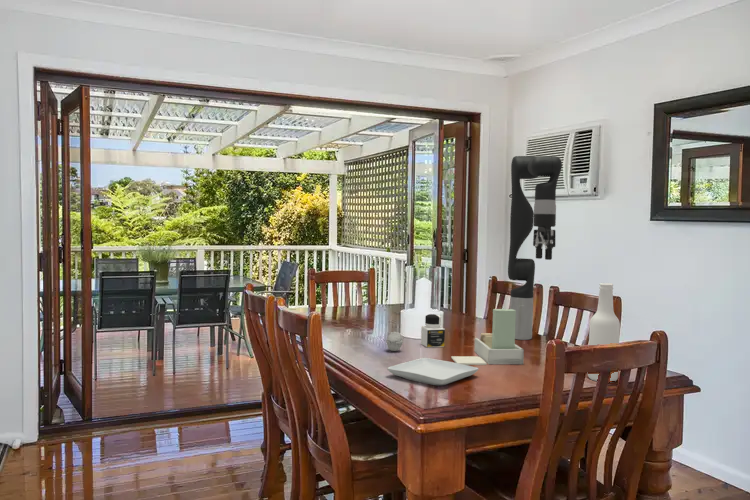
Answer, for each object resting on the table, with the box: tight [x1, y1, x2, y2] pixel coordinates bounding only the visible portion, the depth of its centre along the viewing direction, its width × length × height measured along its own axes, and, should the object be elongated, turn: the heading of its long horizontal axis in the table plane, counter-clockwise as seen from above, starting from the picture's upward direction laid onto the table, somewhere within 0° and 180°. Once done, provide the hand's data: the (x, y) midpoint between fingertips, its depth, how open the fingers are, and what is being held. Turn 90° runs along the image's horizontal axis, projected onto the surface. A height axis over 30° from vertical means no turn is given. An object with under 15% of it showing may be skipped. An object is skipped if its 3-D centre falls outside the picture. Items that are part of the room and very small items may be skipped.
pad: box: [450, 355, 488, 366], centre depth 209 cm, size 10×10×1 cm
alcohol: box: [587, 282, 621, 382], centre depth 188 cm, size 9×9×30 cm
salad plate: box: [386, 357, 480, 387], centre depth 188 cm, size 21×21×3 cm
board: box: [491, 308, 516, 349], centre depth 209 cm, size 4×7×16 cm, turn 95°
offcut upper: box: [479, 332, 492, 343], centre depth 222 cm, size 6×8×2 cm
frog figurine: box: [386, 331, 404, 352], centre depth 223 cm, size 6×7×7 cm
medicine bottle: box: [420, 313, 446, 349], centre depth 234 cm, size 7×7×12 cm
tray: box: [474, 337, 525, 365], centre depth 216 cm, size 20×12×5 cm, turn 5°
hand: (543, 259), depth 214 cm, fingers open, 8 cm apart
